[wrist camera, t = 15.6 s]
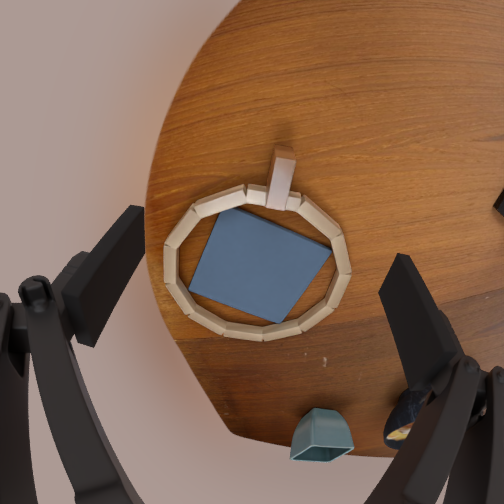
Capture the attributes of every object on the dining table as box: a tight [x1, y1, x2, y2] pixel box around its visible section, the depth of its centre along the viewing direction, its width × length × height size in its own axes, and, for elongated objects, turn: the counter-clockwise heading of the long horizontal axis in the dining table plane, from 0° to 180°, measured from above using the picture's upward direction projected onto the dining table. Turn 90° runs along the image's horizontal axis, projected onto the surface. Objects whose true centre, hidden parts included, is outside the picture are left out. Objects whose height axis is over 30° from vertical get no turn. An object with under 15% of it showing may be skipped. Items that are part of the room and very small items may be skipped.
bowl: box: [383, 383, 432, 450], centre depth 43 cm, size 17×17×10 cm
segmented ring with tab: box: [164, 144, 352, 342], centre depth 31 cm, size 24×20×4 cm
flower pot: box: [290, 408, 354, 462], centre depth 48 cm, size 9×9×9 cm
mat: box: [188, 207, 332, 324], centre depth 33 cm, size 12×12×1 cm
